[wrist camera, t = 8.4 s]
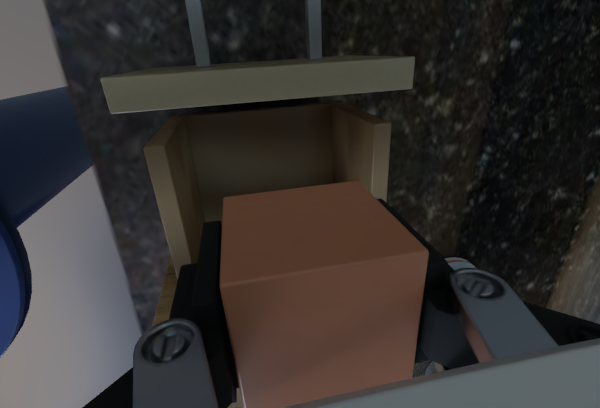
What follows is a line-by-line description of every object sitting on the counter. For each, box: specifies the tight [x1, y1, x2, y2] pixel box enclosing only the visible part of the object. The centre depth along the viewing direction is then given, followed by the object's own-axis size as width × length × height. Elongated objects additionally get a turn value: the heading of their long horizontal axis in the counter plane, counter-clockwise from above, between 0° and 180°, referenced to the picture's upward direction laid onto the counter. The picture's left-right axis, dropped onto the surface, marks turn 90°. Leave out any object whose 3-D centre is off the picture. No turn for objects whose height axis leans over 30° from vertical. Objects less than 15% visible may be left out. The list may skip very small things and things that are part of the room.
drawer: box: [101, 0, 415, 279], centre depth 17 cm, size 18×11×8 cm, turn 3°
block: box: [219, 181, 429, 408], centre depth 10 cm, size 4×4×4 cm
